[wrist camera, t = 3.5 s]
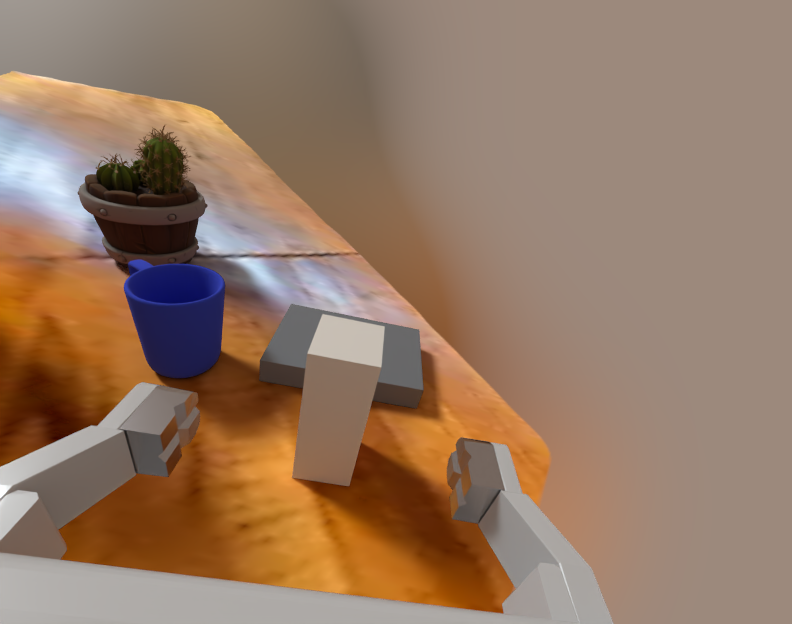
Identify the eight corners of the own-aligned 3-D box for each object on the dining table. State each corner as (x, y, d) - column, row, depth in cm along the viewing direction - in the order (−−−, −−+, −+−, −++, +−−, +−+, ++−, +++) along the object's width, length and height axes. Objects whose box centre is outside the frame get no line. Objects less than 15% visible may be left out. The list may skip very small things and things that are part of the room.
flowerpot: (64, 260, 49) (17, 98, 39) (155, 232, 62) (137, 105, 52) (155, 291, 47) (131, 132, 37) (228, 256, 60) (225, 130, 50)
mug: (181, 316, 44) (172, 243, 39) (242, 362, 40) (242, 288, 35) (105, 342, 38) (83, 259, 33) (169, 400, 34) (155, 315, 28)
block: (292, 477, 30) (307, 353, 23) (306, 430, 34) (322, 313, 27) (349, 486, 30) (381, 367, 23) (355, 439, 35) (384, 326, 28)
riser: (259, 380, 38) (260, 360, 37) (289, 321, 48) (291, 304, 47) (416, 408, 40) (423, 390, 38) (413, 346, 50) (419, 329, 49)
